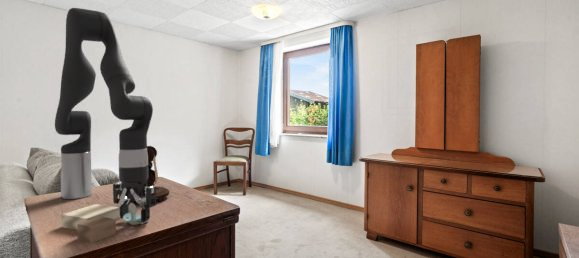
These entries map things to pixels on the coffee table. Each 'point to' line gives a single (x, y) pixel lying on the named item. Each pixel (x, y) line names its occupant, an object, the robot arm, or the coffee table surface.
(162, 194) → the dark brown sculpture
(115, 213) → the ash block
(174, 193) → the coffee table surface
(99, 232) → the walnut block
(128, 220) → the pacifier
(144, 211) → the robot arm
